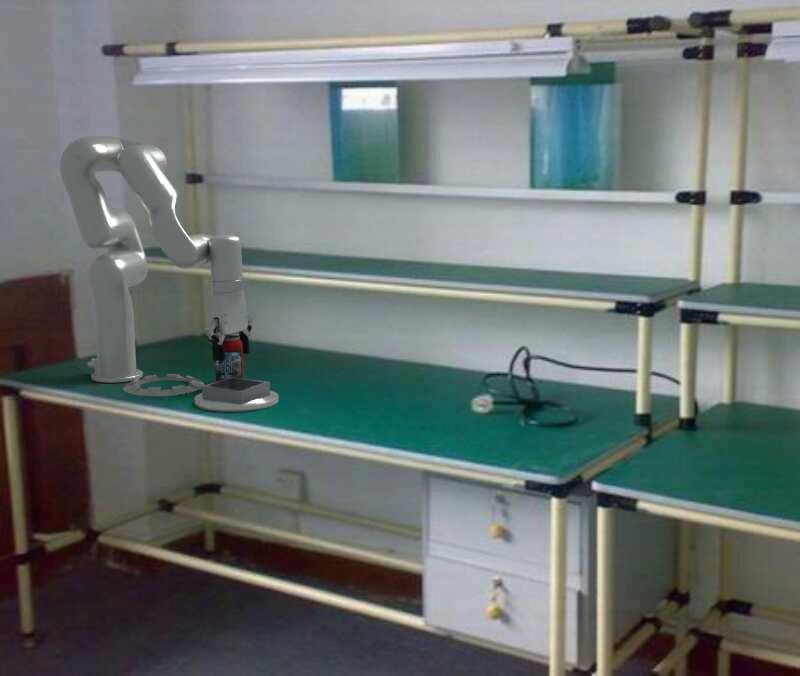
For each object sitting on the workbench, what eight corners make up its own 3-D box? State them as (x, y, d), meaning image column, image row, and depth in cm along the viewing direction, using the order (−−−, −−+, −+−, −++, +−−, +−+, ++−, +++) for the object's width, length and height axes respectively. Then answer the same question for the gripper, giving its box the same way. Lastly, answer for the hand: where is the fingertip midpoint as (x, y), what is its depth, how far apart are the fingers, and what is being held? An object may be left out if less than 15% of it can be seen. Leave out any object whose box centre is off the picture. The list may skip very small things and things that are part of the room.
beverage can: (213, 388, 274) (211, 339, 272) (218, 382, 281) (217, 334, 278) (241, 388, 274) (239, 339, 272) (245, 382, 280) (244, 334, 278)
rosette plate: (177, 405, 257) (176, 387, 256) (229, 389, 273) (228, 372, 272) (245, 416, 248) (244, 397, 247) (294, 398, 264) (294, 380, 263)
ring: (220, 385, 279) (220, 377, 279) (168, 401, 263) (168, 393, 262) (160, 377, 289) (159, 369, 288) (106, 392, 272) (105, 384, 272)
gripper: (236, 282, 282) (240, 349, 285) (192, 291, 267) (196, 362, 270) (261, 283, 278) (265, 351, 281) (217, 292, 263) (221, 364, 266)
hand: (231, 356), depth 276 cm, fingers open, 9 cm apart
